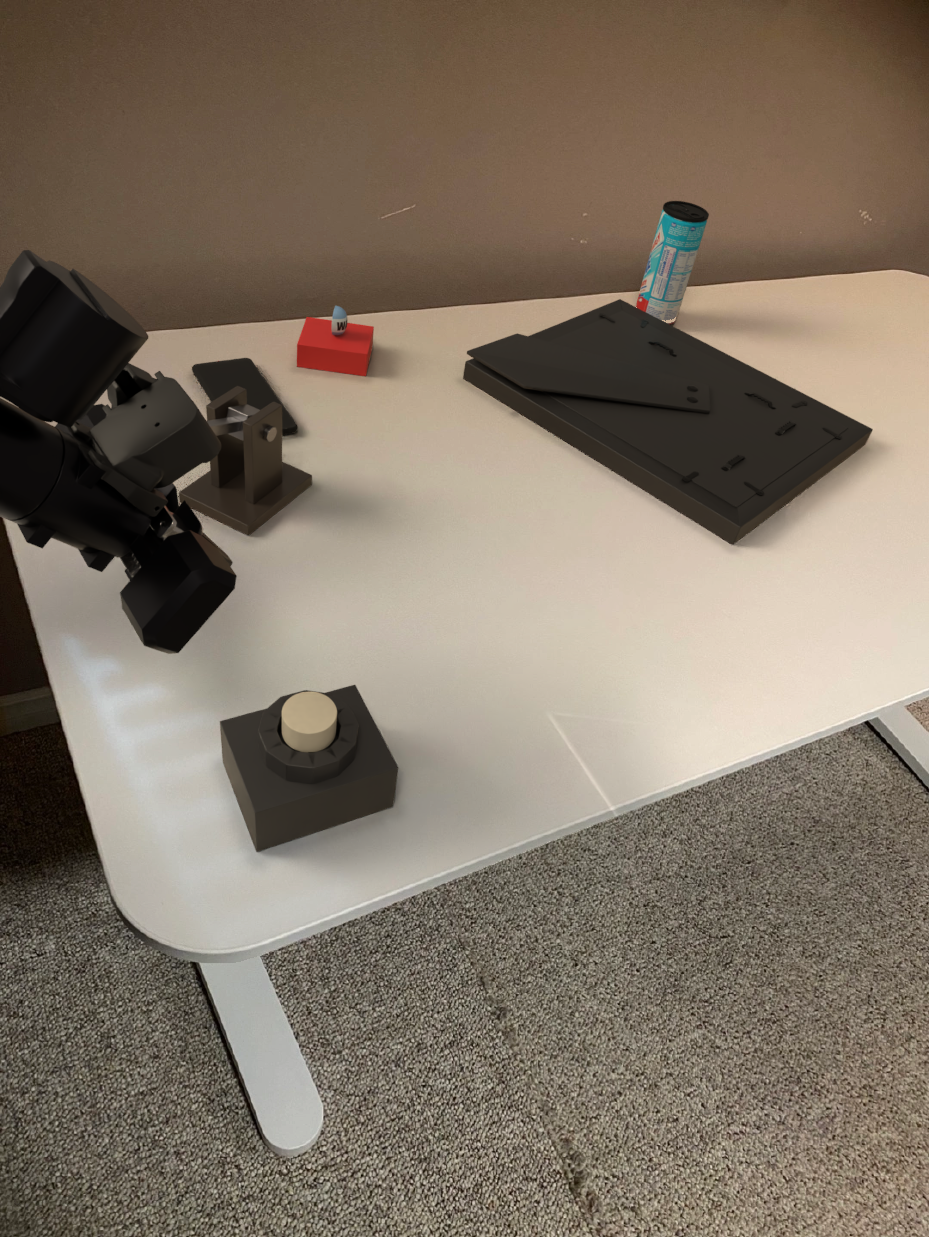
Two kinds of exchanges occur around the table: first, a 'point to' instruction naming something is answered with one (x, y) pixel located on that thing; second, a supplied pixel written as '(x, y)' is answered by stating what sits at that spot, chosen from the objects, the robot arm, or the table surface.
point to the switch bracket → (246, 470)
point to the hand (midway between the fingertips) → (226, 565)
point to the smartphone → (240, 385)
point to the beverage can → (671, 259)
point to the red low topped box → (335, 344)
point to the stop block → (307, 772)
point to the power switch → (233, 421)
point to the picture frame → (669, 414)
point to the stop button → (309, 721)
